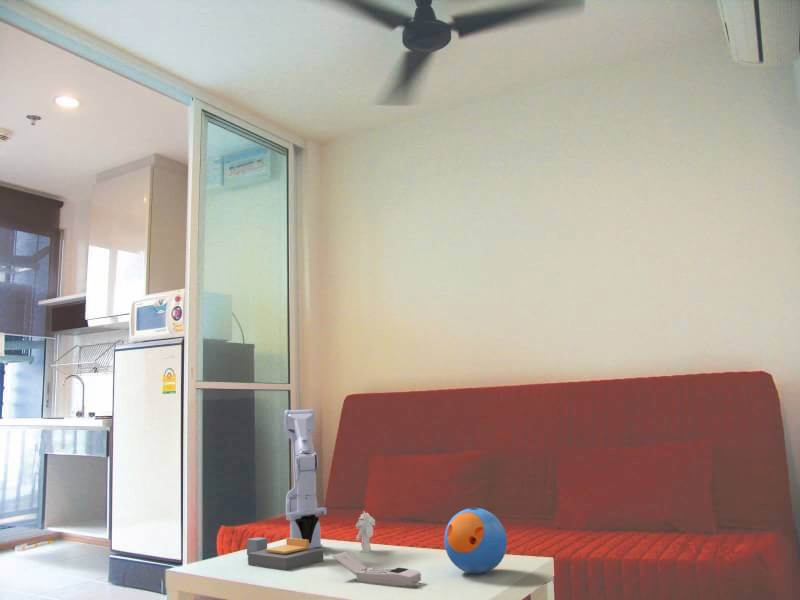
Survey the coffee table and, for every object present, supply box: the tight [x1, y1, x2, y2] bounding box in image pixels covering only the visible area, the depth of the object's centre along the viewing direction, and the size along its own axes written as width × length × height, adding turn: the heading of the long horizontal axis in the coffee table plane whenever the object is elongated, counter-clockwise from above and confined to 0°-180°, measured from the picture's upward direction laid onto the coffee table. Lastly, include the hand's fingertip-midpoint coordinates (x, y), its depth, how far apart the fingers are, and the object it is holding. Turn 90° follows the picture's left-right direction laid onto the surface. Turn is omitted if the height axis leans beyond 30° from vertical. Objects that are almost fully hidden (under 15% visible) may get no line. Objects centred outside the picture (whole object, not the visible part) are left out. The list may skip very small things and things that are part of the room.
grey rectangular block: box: [246, 537, 268, 556], centre depth 191 cm, size 4×4×5 cm
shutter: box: [265, 537, 309, 554], centre depth 182 cm, size 9×8×2 cm
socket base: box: [247, 548, 324, 571], centre depth 181 cm, size 14×16×3 cm
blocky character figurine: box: [355, 510, 376, 553], centre depth 195 cm, size 9×4×12 cm, turn 152°
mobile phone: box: [332, 550, 422, 588], centre depth 155 cm, size 6×6×25 cm
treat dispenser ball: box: [443, 507, 508, 575], centre depth 160 cm, size 16×15×15 cm
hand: (307, 543), depth 188 cm, fingers closed
